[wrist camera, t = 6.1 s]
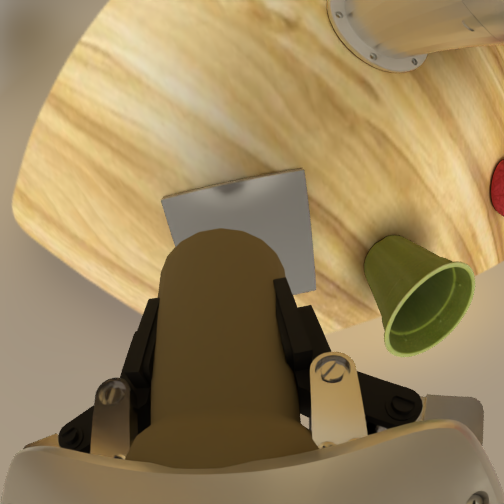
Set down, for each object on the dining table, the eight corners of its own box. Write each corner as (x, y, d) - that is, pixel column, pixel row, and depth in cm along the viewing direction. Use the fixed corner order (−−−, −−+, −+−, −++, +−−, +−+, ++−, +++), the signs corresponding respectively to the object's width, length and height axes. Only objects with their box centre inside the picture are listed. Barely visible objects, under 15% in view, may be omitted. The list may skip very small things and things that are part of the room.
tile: (301, 168, 25) (304, 169, 25) (313, 285, 32) (316, 289, 31) (163, 197, 26) (160, 200, 25) (199, 307, 32) (199, 312, 31)
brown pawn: (281, 331, 14) (331, 533, 4) (170, 334, 14) (145, 538, 4) (290, 226, 12) (430, 499, 2) (151, 230, 11) (32, 503, 1)
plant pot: (343, 226, 29) (394, 281, 19) (425, 210, 28) (485, 250, 18) (344, 308, 34) (377, 371, 24) (416, 286, 34) (458, 336, 24)
